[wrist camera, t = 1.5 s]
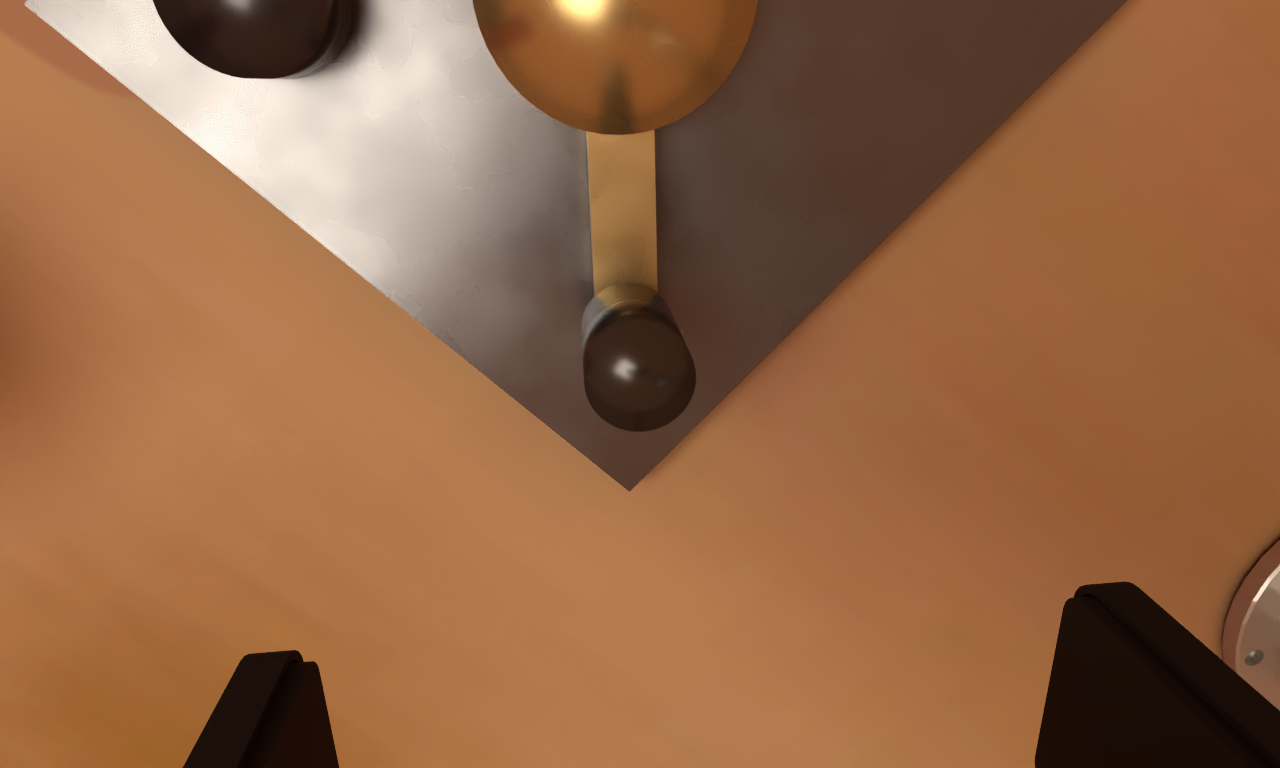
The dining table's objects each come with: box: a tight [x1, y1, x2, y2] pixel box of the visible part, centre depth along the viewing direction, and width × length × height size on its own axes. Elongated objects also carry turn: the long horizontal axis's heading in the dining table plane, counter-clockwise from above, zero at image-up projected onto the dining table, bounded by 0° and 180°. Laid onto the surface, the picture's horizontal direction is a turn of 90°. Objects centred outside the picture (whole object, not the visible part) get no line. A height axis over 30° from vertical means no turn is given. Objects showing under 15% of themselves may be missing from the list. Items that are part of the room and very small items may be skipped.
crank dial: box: [473, 0, 758, 432], centre depth 23 cm, size 16×8×7 cm, turn 1°
